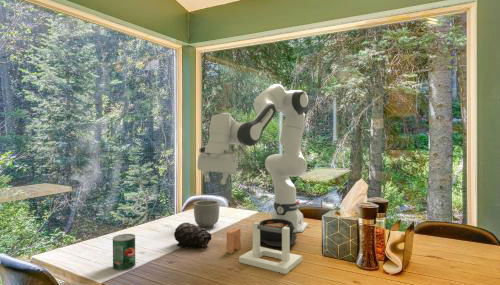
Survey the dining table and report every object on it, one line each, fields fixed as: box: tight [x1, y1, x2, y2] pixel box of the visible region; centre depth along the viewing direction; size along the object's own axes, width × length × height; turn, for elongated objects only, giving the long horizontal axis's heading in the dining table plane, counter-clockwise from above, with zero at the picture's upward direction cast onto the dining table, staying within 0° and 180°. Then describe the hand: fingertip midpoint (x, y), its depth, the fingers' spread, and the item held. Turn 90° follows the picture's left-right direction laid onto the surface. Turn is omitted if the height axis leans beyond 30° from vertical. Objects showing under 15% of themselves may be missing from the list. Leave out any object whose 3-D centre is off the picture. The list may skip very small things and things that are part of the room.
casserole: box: [260, 218, 297, 248], centre depth 145 cm, size 25×19×8 cm
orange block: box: [226, 228, 241, 254], centre depth 133 cm, size 6×2×8 cm, turn 147°
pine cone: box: [173, 222, 213, 250], centre depth 139 cm, size 10×18×10 cm, turn 76°
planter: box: [192, 199, 221, 230], centre depth 168 cm, size 14×14×13 cm
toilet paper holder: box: [238, 221, 303, 275], centre depth 120 cm, size 20×14×14 cm
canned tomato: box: [112, 233, 136, 272], centre depth 117 cm, size 8×8×11 cm
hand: (214, 183), depth 130 cm, fingers open, 8 cm apart
